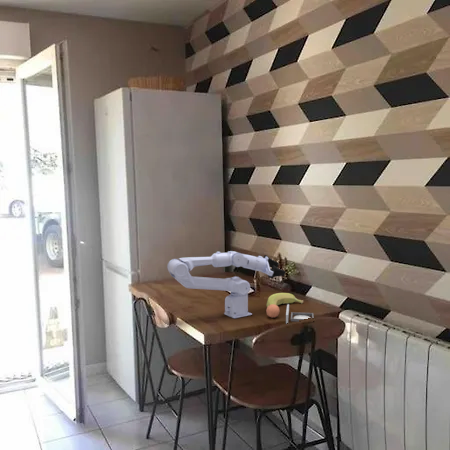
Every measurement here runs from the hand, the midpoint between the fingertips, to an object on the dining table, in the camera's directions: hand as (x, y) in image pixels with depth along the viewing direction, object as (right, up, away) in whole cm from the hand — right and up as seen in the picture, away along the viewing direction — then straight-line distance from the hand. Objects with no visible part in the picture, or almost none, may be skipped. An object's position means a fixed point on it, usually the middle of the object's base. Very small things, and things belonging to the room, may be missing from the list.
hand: (281, 269), depth 213 cm
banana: (+3, -18, +7) cm, 19 cm away
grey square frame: (+7, -19, -12) cm, 24 cm away
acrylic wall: (+1, -19, -11) cm, 22 cm away
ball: (-5, -16, -10) cm, 20 cm away
